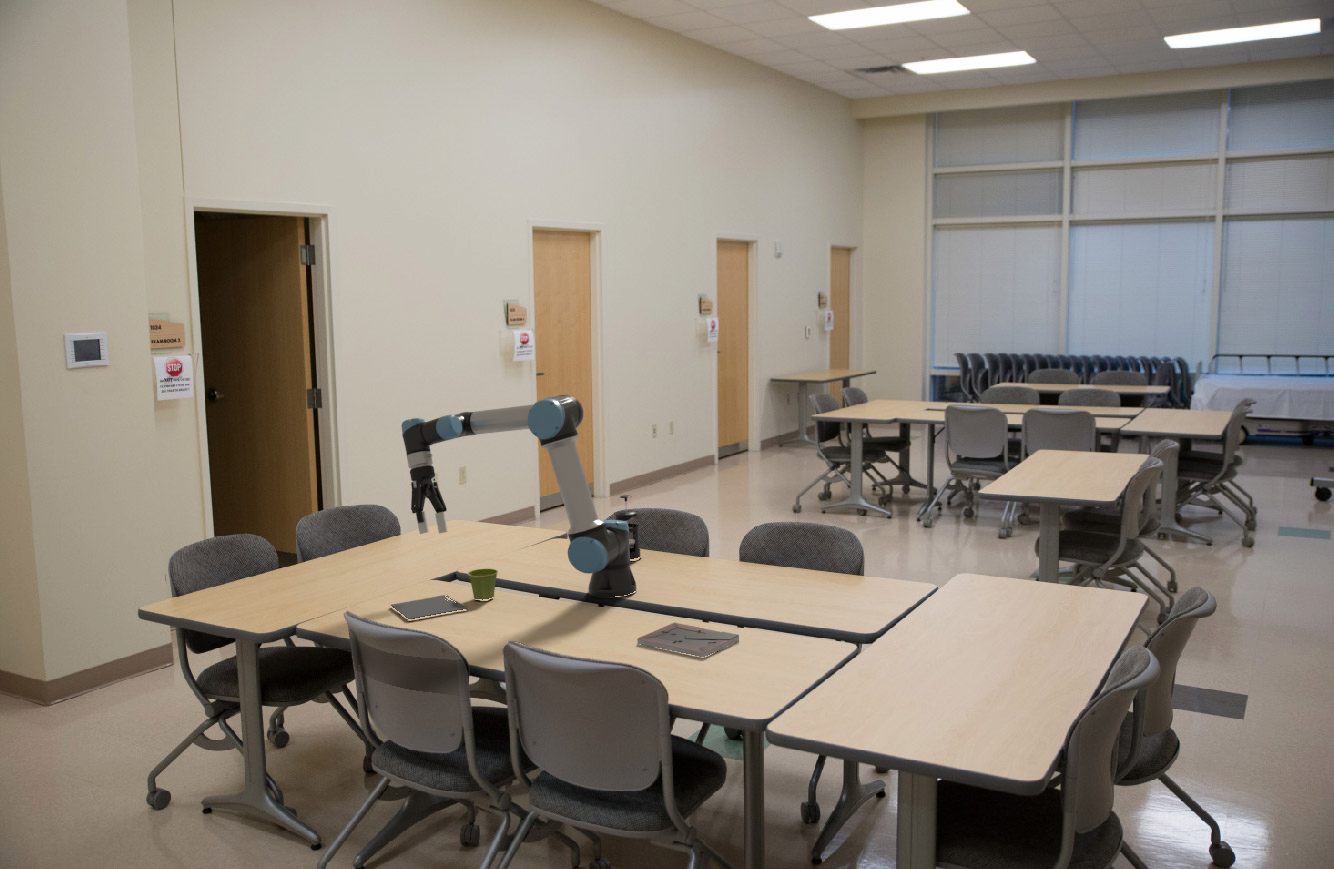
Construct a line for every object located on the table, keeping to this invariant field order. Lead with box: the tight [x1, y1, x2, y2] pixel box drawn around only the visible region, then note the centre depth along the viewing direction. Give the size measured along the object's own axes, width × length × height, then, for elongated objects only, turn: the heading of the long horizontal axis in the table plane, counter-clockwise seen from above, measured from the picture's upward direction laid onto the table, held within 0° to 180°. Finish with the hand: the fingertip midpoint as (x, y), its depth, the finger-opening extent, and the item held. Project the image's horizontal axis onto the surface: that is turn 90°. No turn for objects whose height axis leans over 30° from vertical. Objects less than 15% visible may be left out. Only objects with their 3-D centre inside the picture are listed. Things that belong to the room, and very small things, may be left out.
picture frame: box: [636, 622, 740, 657], centre depth 280 cm, size 16×2×22 cm
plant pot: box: [466, 568, 499, 600], centre depth 327 cm, size 9×9×9 cm
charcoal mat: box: [390, 594, 468, 619], centre depth 318 cm, size 18×18×1 cm
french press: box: [613, 494, 641, 559], centre depth 372 cm, size 12×9×23 cm
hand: (434, 532), depth 328 cm, fingers open, 13 cm apart
